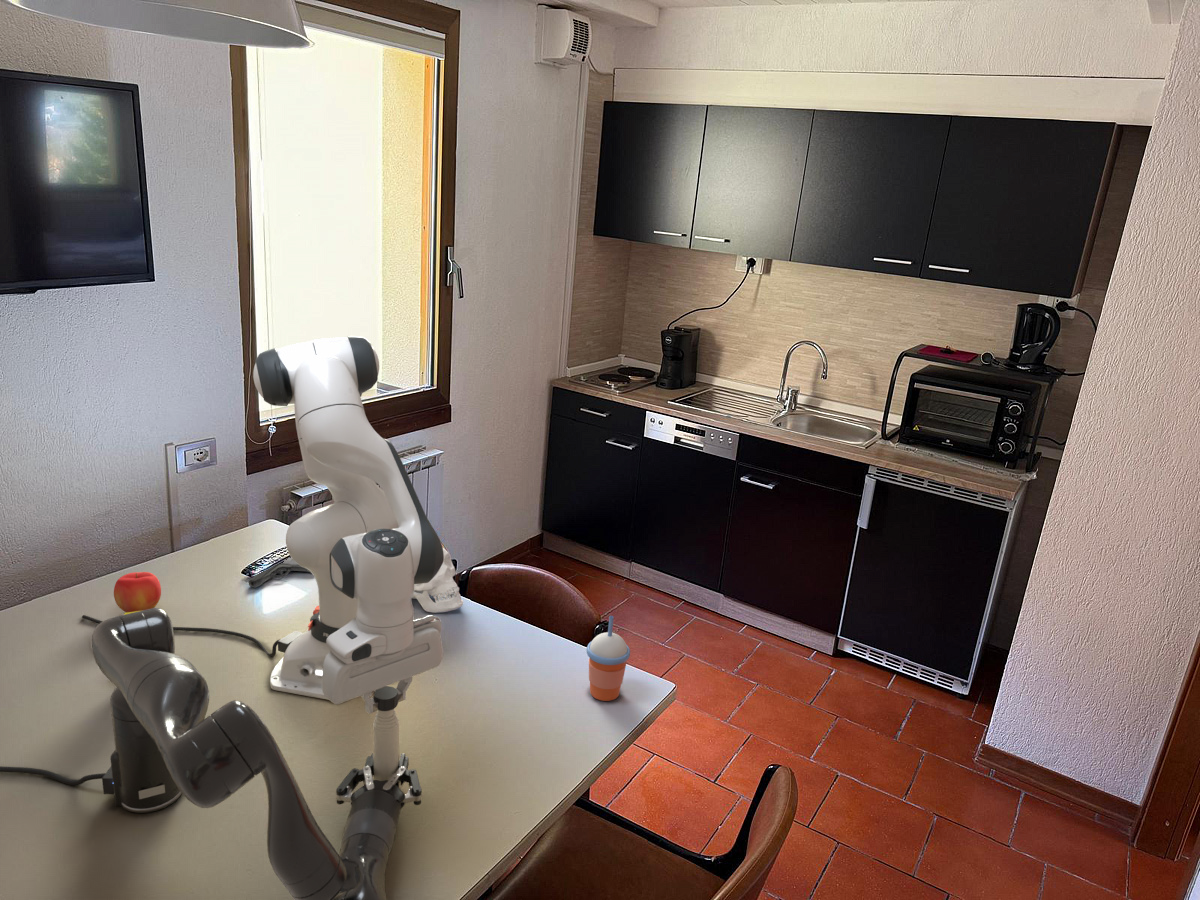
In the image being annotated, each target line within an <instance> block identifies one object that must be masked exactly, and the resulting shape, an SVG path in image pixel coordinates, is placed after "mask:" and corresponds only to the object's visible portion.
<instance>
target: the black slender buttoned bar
mask: <svg viewBox="0 0 1200 900" xmlns="http://www.w3.org/2000/svg"><path fill="white" fill-rule="evenodd" d="M292 571H294V572H295V571H296V572H307V573H311V571H309V570H308V569H306V568H304V567H302V566H300V565H299V564H297V563H296V562H295V561H294V560H293V559H292V558H288V559H287V560H284V562H283V563H281V564H277V565H275V566H273V567H272V568H270V569H268V570H266V571H263V572H261V571H260V572H261V573H259V572H258V573H259V574H258V573H256V574H255V575H254V576H253V577H251V579H249V580H248V586H249V587H251V588H258V587H260V586H262V585H263V584H264V583H265V582H267V581H268V580H270V579H272V578H273V579H282V578H285V577H286V576H287V575H289V573H290V572H292ZM284 572H285V573H284ZM277 574H279V575H277Z"/></svg>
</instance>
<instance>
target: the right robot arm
mask: <svg viewBox="0 0 1200 900" xmlns="http://www.w3.org/2000/svg"><path fill="white" fill-rule="evenodd" d="M252 372H253V373H252V377H253V383H254V386H255V388H256V390H257V392H258V394H259V395H260V396H261V397H262V398H263V401H264V402H265V403H267V404H269V405H270V406H276V407H288V406H289V405H293V406H294V420H295V429H296V433H297V438H298V444H299V448H300V454H301V458H302V463H303V467H304V468H303V469H304V473H305V475H306V477H308V479H309V480H310V481H312V482H314V483H315V484H317V485H320V486H324V487H326V488H327V489H328V491H329V493H330V494H331V496H332V499H333V503H331V504H329V505H325V506H322V507H319V508H317V509H313V510H311V511H309V512H307V513H305V514H304V515H302V516H301V517H299V518H297V519H296V520H294V521H293V522H292V523H290V525H289V526H288V528H287V530H286V534H285V546H286V550H287V552H288V555H290V556H291V558H292V559H293V560H294V561H295V562H296V563H297V564H299V565H300V566H302V567H304V568H306V569H308V570H309V571H311V572H310V573H311V574H312V576H313V578H314V579H315V581H316V586H317V593H318V605H316V607H314V610H313V611H312V615H311V617H310V619H309V623H308V625H307V628H308V629H307V630H306V631H304V632H302V631H300V630H296V629H295V630H294V631H291V632H290V633H289V634H287V635H286V636H283V637H282V638H280V639H277V640H276V641H274V643H273V644H272V648H271V649H272V650H271V653H269V652H268V651H267V649H266V648H265V647H264V645H263V644H262V643H261V642H260V641H259V640H258V639H256V638H254V637H253V636H251V635H248V634H245V633H240V632H236V631H232V630H227V629H226V630H225V629H218V628H208V627H188V626H187V627H185V626H173V631H178V632H179V631H180V632H181V631H182V632H207V633H208V632H209V633H215V634H223V635H229V636H235V637H239V638H243V639H246V640H248V641H251V642H252V643H254V644H255V645H256V646H257V647H258V648H259V649H260V650H261V651H263V652H264V653H265V654H266V655H267V656H268V657H269V658H273V657H274V656H275V655H276V654H277V651H278V652H281V653H284V654H283V656H282V657H281V659H280V660H279V661H278V662H277V663H276V664H275V666H274V667H273V669H272V670H271V673H270V676H269V686H270V688H271V689H272V690H274V691H278V692H283V693H289V694H295V695H300V696H304V697H305V696H306V697H310V698H315V699H316V698H317V699H322V700H327V701H330V702H331V703H333V704H334V705H341V704H343V703H345V702H348V701H351V700H353V699H355V698H359V697H360V698H361V699H362V701H364V710H365V712H366V713H368V715H371V714H374V713H377V712H378V702H377V701H376V700H375V699H374V698H373V692H374V691H375V690H377V689H380V688H383V687H385V686H391V685H394V684H396V683H398V684H397V686H396V687H395V688H396V689H397V691H398V703H401V702H403V701H406V700H407V699H406V698H407V691H408V689H409V687H410V686H411V684H412V682H413V677H414V676H417V675H420V674H422V673H425V672H428V671H430V670H434V669H436V668H438V667H440V665H441V664H442V662H443V660H444V649H443V648H444V647H443V642H442V636H441V632H442V621H441V619H440V617H438V616H434V615H432V614H430V615H426V616H425V617H421V618H417V619H415V609H414V606H413V602H412V599H413V598H412V594H413V591H414V584H421V583H428V582H429V581H431V580H432V579H433V577H434V576H435V575H436V574H437V572H438V571H439V569H440V568H441V566H442V564H443V560H444V553H443V548H444V547H443V545H442V541H441V540H440V537H439V535H438V533H437V531H436V530H435V528H434V527H433V526H432V524H431V522H430V520H429V518H428V516H427V514H426V513H425V510H424V508H423V506H422V504H421V501H420V499H419V497H418V495H417V492H416V490H415V488H414V486H413V485H414V484H413V483H412V481H411V479H410V477H409V474H408V472H407V470H406V467H405V465H404V463H403V461H402V459H401V457H400V455H399V453H398V451H397V449H396V448H395V446H394V445H393V443H392V442H391V441H390V440H388V439H386V438H384V437H382V436H381V435H380V434H379V433H378V432H377V431H376V430H375V429H374V428H373V426H372V425H371V422H369V420H368V417H367V416H366V411H365V407H364V404H363V400H362V395H363V394H364V393H366V392H367V391H369V390H371V389H373V387H374V386H375V384H376V383H377V382H378V380H379V374H380V360H379V356H378V353H377V352H376V349H375V348H374V347H373V344H372V342H371V341H370V340H368V339H367V338H366V337H364V336H356V335H347V337H335V338H334V337H333V338H331V337H330V338H321V339H314V340H313V339H312V340H311V341H306V342H301V343H296V344H292V345H291V344H290V345H287V346H283V347H281V348H276V347H273V348H270V349H266V350H265V351H261V352H260V353H259V354H258V355H257V356H256V358H255V364H254V367H253V371H252ZM442 547H443V548H442ZM81 618H82V619H84V620H87V621H89V622H92V623H95V624H97V625H98V624H100V623H101V622H103V621H104V620H100V619H97V618H94V617H92V616H89V615H85V614H83V615H82V616H81Z"/></svg>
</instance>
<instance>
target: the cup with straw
mask: <svg viewBox="0 0 1200 900" xmlns="http://www.w3.org/2000/svg"><path fill="white" fill-rule="evenodd" d="M614 619H615V618H614V616H613V615H609V617H608V627H607V631H606V632H602V633H599V634H597V635H596V636H595V637H594V638H593V639H592V640H591V641H590V642H589V643H588V644H587V646H586V654H587V656H588V680H589V692H590V695H591V696H592V697H593V698H594V699H596V700H597V701H602V702H610V701H614V700H615V699H617V698H618V697H619V695H620V691H621V687H622V684H623V681H624V677H625V671H626V666H627V661H628V660H629V659H630V657H631V649H630V647H629V646H628V644H627V643H626V641H625V640H624V638H623V637H622V636H620V635H619V634H618V633H615V632H613V628H614Z"/></svg>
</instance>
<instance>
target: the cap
mask: <svg viewBox="0 0 1200 900" xmlns="http://www.w3.org/2000/svg"><path fill="white" fill-rule="evenodd" d="M396 688H397V687H394V686H391V685H388V686H385V687H383V688H380V689H377V690H375V691H373V694H372V697H373V698H374V699H375V700H376V701H377V702H378V710H379V711H390V710H393V709H394V710H395V709H396V708H397V707H398V705H399V702H398V691H397V689H396Z"/></svg>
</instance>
